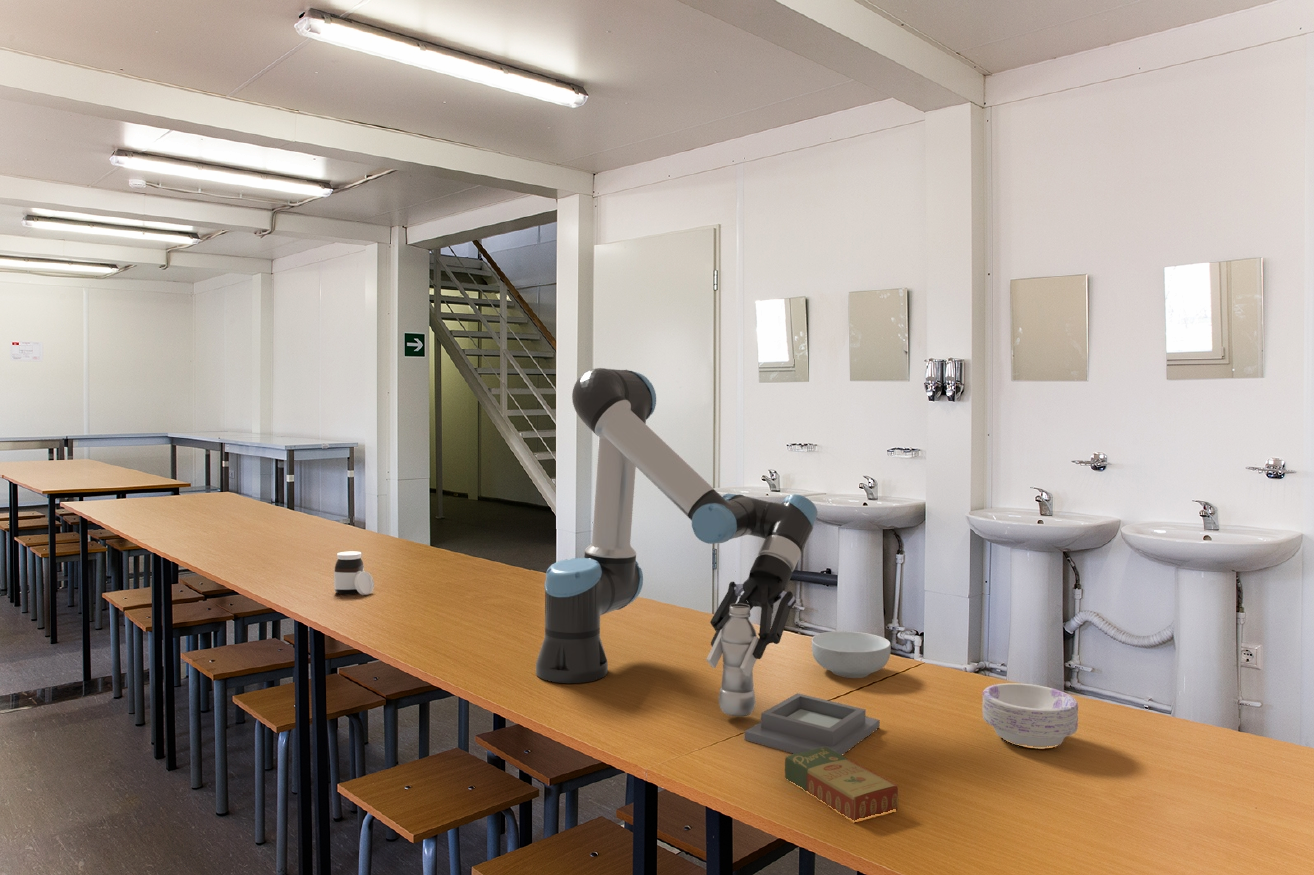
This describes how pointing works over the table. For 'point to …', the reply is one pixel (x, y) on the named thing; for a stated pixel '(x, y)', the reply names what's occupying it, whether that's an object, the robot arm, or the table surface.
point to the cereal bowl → (850, 652)
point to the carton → (841, 783)
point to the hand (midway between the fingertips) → (727, 667)
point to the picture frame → (811, 725)
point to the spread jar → (351, 574)
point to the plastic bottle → (737, 663)
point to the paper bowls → (1030, 713)
